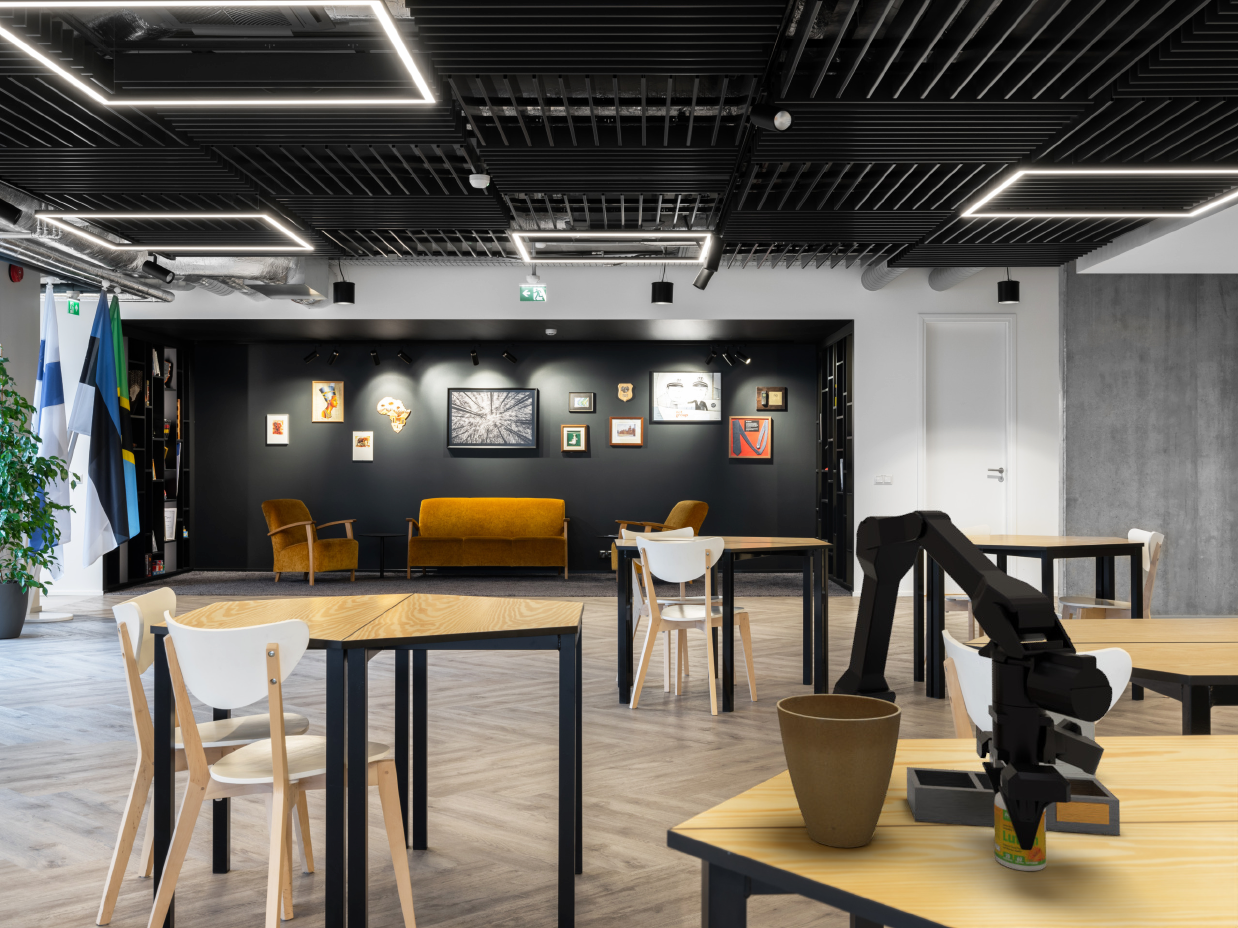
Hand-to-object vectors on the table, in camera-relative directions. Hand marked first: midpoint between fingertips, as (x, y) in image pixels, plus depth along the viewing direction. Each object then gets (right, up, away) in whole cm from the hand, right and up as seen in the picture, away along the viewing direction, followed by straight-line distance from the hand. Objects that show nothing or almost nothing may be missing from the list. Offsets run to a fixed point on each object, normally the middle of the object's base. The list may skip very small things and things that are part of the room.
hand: (1020, 839), depth 105 cm
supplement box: (+21, -4, +34) cm, 40 cm away
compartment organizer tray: (+5, -3, +15) cm, 16 cm away
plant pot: (-19, -3, +8) cm, 21 cm away
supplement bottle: (0, -3, 0) cm, 3 cm away
